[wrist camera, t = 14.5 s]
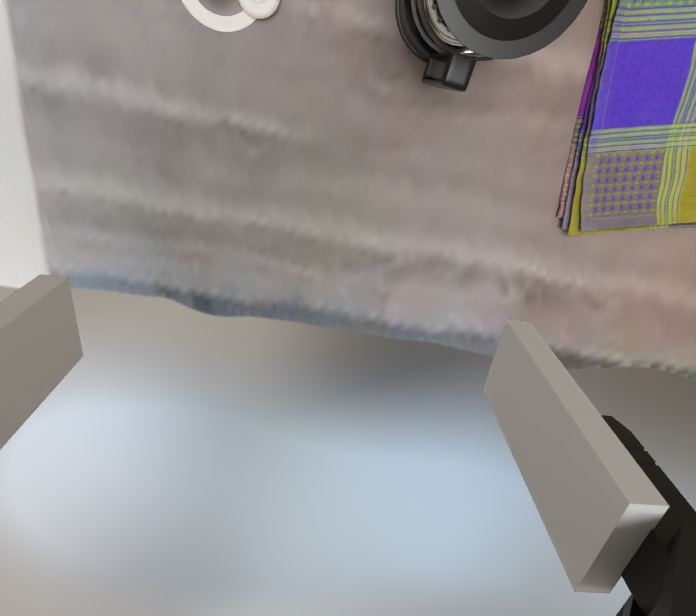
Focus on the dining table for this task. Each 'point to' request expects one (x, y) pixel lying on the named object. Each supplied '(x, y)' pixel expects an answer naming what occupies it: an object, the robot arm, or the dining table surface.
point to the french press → (478, 32)
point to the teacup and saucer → (256, 4)
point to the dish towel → (636, 123)
